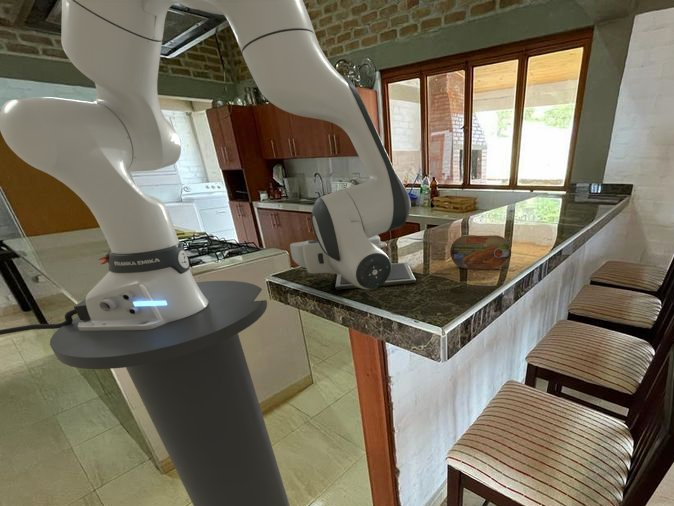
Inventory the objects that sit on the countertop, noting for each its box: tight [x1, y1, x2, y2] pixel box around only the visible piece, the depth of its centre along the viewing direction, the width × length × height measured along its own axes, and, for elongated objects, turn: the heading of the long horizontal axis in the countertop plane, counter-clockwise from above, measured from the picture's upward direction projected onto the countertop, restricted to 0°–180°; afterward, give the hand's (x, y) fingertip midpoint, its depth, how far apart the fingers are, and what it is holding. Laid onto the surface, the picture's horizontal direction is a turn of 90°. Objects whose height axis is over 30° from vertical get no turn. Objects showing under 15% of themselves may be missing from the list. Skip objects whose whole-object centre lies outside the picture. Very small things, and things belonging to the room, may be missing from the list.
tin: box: [449, 234, 512, 270], centre depth 84 cm, size 15×3×8 cm, turn 76°
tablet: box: [334, 262, 417, 291], centre depth 82 cm, size 18×14×1 cm
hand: (328, 241), depth 83 cm, fingers open, 8 cm apart
